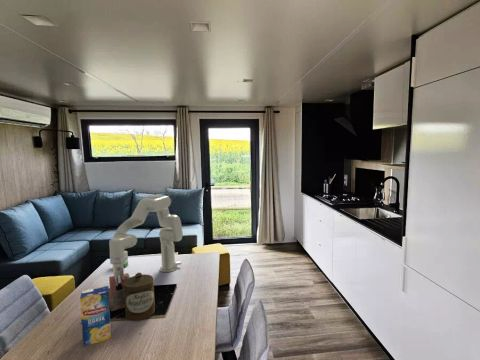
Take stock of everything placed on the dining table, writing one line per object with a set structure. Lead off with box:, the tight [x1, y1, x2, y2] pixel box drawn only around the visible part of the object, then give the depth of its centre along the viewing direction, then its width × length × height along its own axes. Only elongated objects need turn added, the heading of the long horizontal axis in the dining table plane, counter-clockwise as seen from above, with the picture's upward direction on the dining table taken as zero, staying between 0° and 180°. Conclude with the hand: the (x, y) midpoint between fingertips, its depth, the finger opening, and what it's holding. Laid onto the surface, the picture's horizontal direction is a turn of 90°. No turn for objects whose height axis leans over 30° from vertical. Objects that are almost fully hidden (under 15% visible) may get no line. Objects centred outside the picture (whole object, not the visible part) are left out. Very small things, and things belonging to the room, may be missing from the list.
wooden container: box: [124, 272, 156, 322], centre depth 138 cm, size 15×15×22 cm
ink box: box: [123, 250, 129, 269], centre depth 202 cm, size 9×5×12 cm, turn 84°
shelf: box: [109, 272, 130, 312], centre depth 153 cm, size 12×23×11 cm, turn 30°
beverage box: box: [79, 285, 112, 347], centre depth 118 cm, size 7×11×22 cm, turn 117°
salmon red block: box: [108, 273, 127, 298], centre depth 150 cm, size 9×4×11 cm, turn 120°
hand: (118, 290), depth 150 cm, fingers closed on salmon red block, 4 cm apart
